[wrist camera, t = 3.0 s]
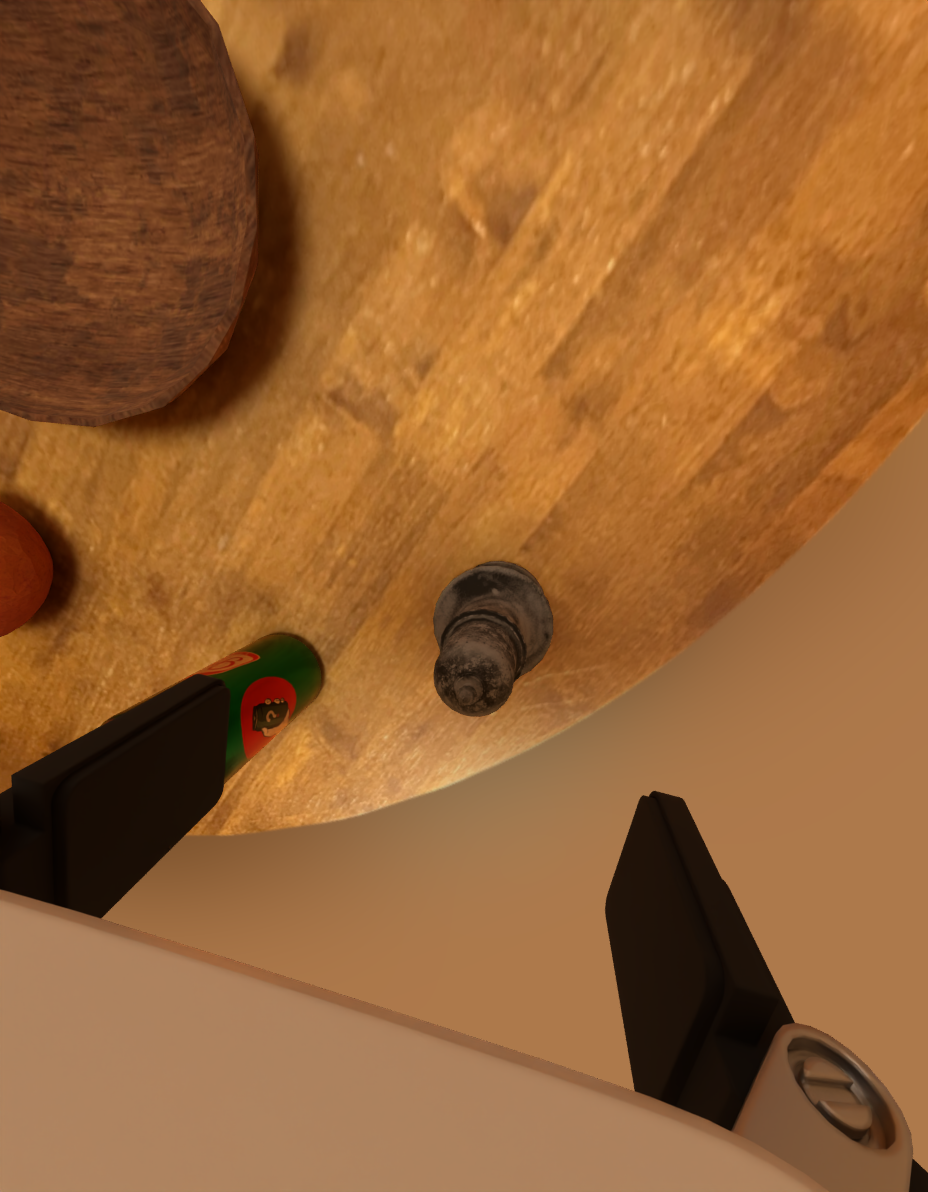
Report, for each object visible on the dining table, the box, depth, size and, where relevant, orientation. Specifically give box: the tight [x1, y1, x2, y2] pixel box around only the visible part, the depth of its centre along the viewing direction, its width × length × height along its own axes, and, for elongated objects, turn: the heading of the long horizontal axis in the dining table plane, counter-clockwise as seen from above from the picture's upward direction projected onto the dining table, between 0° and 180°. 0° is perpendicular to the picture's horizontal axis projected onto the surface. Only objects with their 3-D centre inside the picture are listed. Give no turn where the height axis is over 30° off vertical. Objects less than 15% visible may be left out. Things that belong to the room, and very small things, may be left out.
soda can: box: [101, 634, 321, 784], centre depth 24 cm, size 5×5×12 cm
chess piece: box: [433, 561, 553, 717], centre depth 20 cm, size 6×6×12 cm
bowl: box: [0, 0, 259, 427], centre depth 23 cm, size 20×22×5 cm
